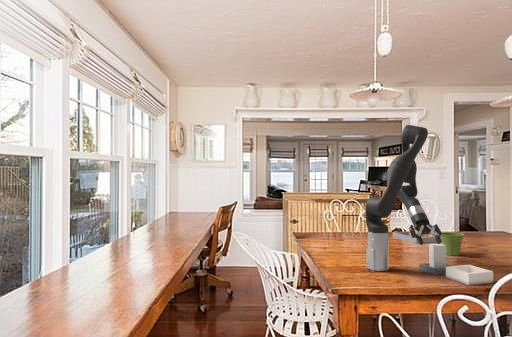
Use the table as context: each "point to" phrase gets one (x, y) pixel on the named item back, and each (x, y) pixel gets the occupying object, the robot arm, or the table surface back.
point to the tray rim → (407, 237)
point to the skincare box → (437, 255)
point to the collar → (433, 269)
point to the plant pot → (452, 242)
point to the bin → (469, 274)
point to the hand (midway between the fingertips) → (431, 243)
